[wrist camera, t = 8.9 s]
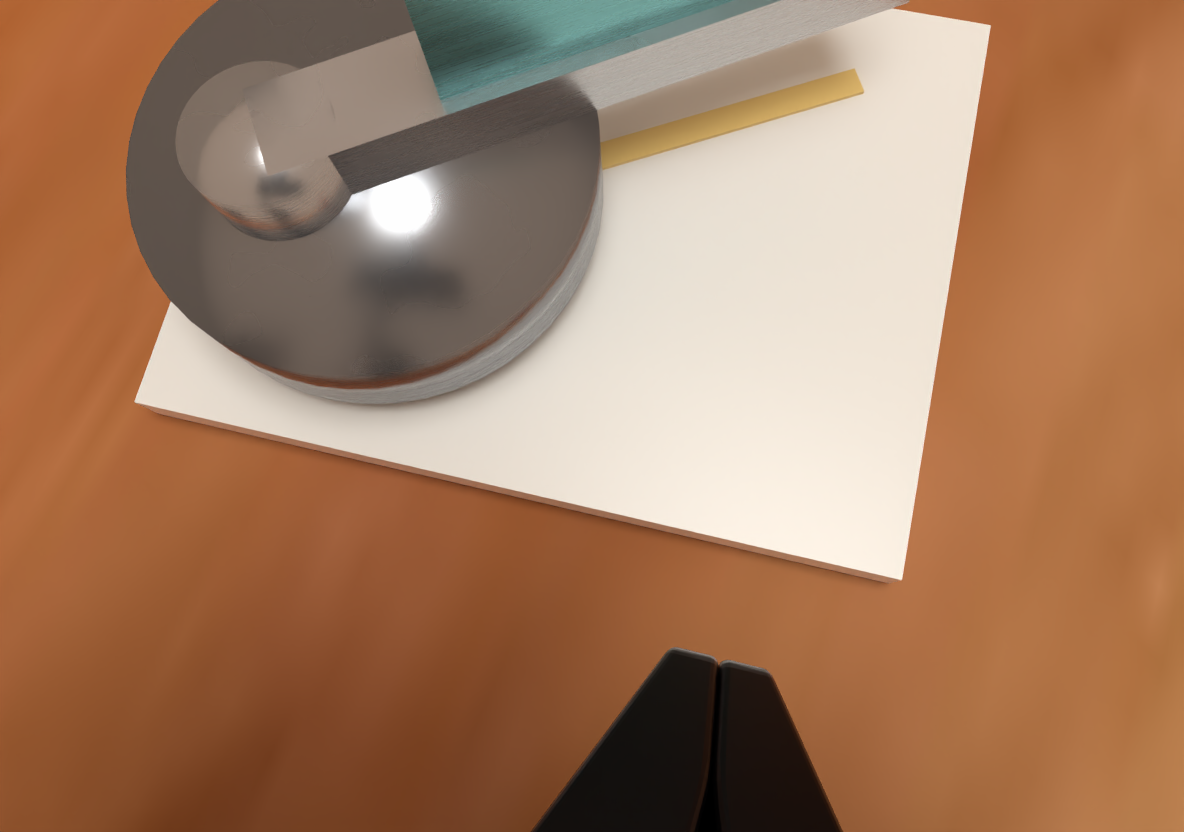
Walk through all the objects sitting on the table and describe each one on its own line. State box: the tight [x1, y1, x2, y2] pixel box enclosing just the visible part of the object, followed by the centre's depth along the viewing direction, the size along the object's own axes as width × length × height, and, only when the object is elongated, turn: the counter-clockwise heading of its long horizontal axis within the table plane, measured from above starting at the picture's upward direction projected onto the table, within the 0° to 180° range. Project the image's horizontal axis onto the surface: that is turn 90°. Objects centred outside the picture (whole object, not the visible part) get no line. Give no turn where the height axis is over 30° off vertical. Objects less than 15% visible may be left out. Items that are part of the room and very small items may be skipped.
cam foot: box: [126, 0, 909, 404], centre depth 15 cm, size 15×9×9 cm, turn 110°
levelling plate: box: [135, 8, 991, 583], centre depth 19 cm, size 17×12×3 cm
